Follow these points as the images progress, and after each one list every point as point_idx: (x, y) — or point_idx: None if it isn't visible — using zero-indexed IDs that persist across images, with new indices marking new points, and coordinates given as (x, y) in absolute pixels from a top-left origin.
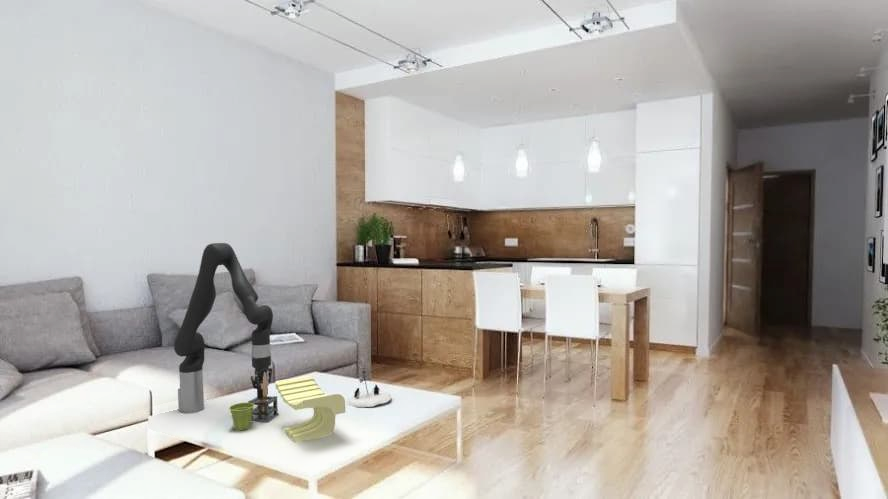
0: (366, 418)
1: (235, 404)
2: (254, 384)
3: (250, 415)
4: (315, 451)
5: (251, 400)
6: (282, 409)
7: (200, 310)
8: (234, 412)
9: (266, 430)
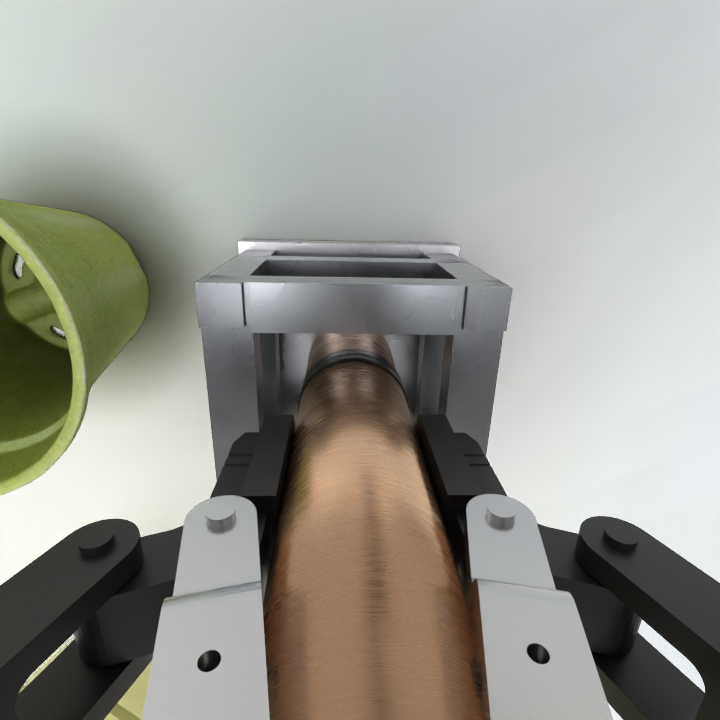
0: None
1: None
2: (21, 637)
3: (10, 418)
4: None
5: (278, 294)
6: (579, 394)
7: None
8: None
9: (99, 491)
